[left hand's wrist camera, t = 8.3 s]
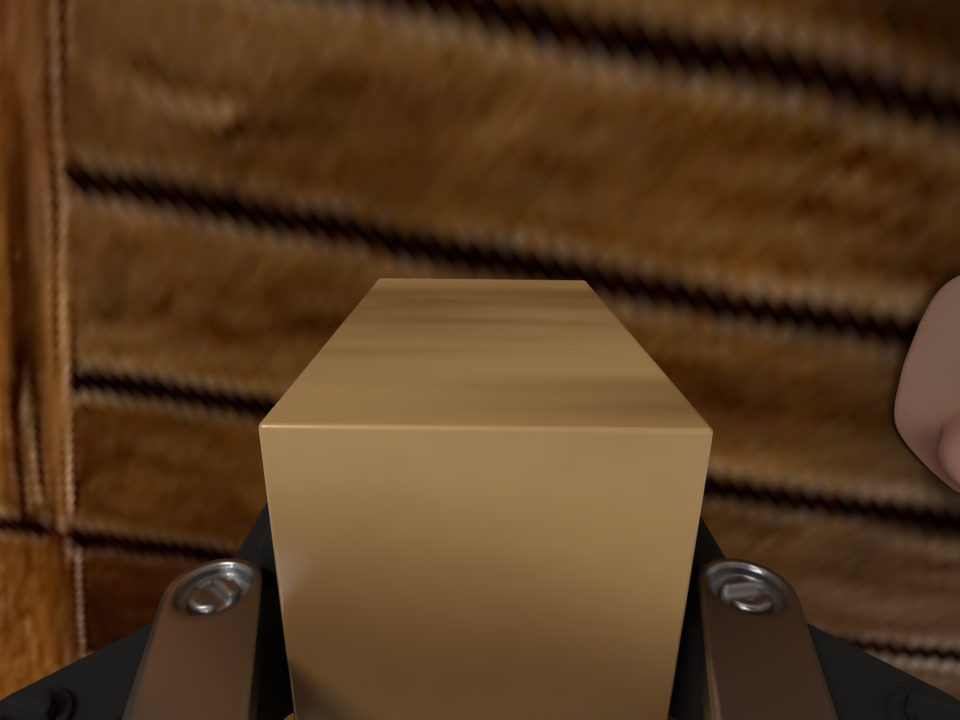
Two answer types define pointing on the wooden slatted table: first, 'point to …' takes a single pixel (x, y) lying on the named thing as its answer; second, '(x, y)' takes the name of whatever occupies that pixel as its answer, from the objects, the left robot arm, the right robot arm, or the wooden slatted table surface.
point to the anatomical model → (934, 387)
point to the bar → (483, 509)
